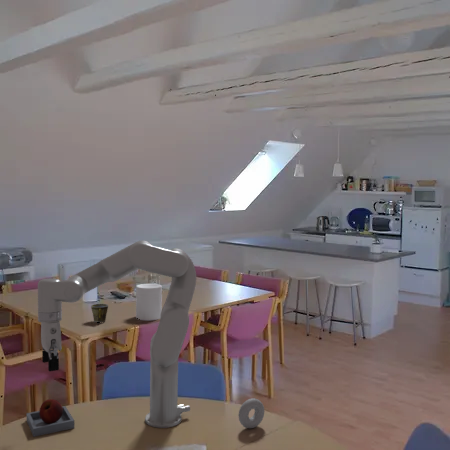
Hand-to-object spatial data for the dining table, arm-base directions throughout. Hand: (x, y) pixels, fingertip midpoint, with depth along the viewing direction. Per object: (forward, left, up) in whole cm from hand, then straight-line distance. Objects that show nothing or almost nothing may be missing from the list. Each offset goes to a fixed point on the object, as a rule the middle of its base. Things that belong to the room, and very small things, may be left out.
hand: (50, 366), depth 171 cm
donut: (-59, +34, -20) cm, 71 cm away
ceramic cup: (-54, -124, -20) cm, 137 cm away
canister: (-85, -123, -20) cm, 151 cm away
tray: (0, 0, -20) cm, 20 cm away
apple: (0, 0, -20) cm, 20 cm away
